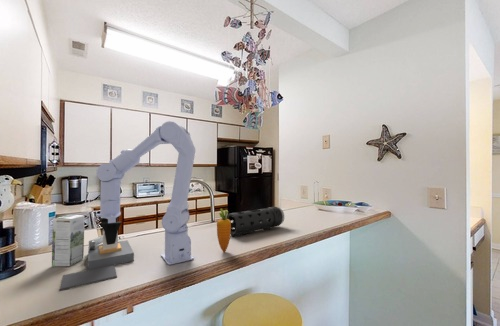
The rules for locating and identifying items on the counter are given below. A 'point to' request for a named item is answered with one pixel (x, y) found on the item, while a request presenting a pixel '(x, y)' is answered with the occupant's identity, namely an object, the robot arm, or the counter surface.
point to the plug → (111, 247)
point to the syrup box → (68, 240)
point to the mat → (88, 277)
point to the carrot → (223, 230)
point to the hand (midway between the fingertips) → (110, 240)
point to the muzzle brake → (255, 220)
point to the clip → (95, 242)
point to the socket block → (110, 256)
